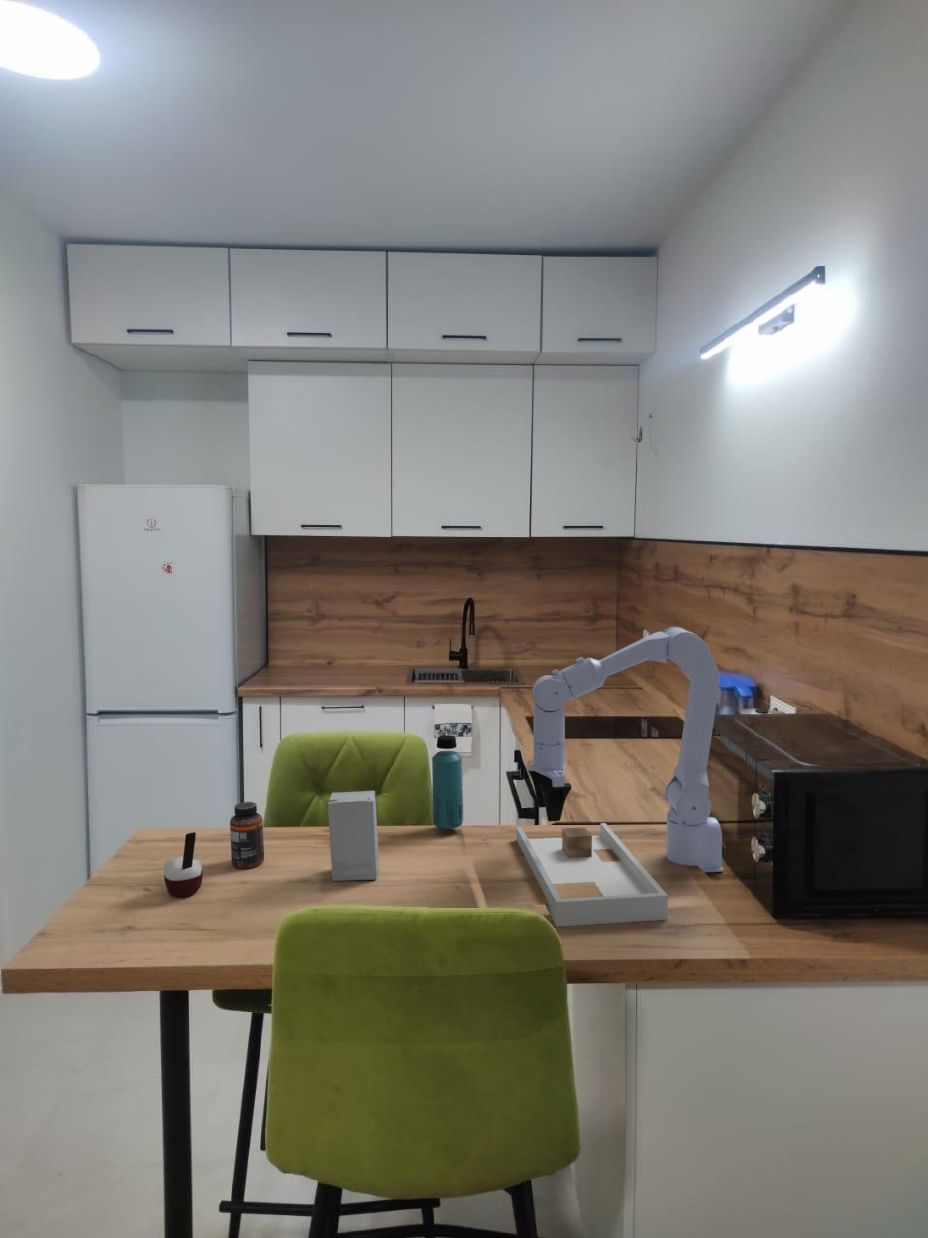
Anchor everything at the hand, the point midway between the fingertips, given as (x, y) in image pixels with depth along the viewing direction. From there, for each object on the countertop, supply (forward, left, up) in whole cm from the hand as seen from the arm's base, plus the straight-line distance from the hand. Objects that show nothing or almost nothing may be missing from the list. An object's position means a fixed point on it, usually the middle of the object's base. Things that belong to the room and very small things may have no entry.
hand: (548, 813), depth 147 cm
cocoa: (+65, +4, -10) cm, 66 cm away
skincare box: (+36, 0, -10) cm, 37 cm away
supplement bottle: (+56, -8, -10) cm, 57 cm away
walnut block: (-6, -1, -8) cm, 10 cm away
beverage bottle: (+17, -20, -10) cm, 28 cm away
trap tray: (-5, +7, -10) cm, 13 cm away
